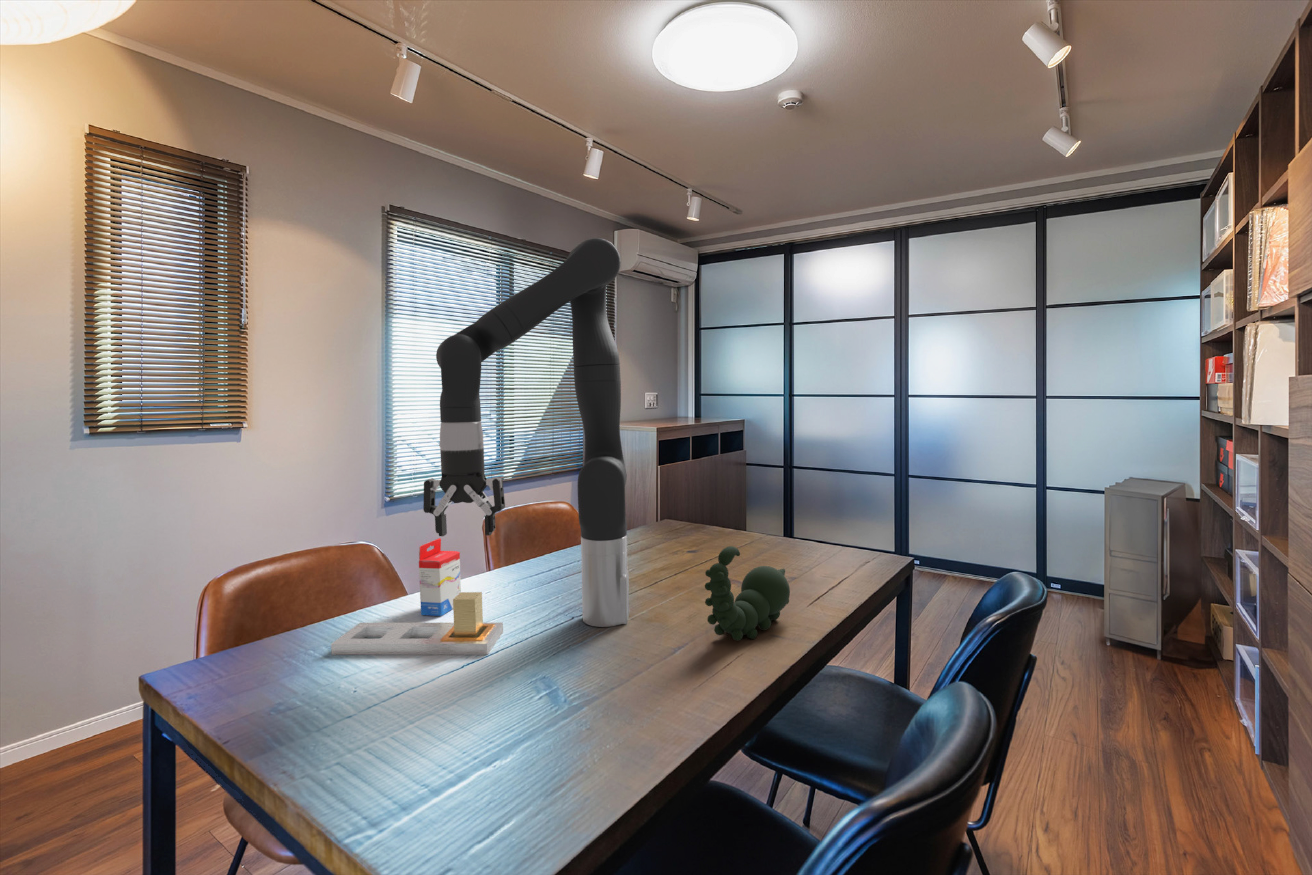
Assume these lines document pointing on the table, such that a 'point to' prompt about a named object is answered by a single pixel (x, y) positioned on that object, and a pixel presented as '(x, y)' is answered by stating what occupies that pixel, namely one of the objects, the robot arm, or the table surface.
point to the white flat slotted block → (414, 640)
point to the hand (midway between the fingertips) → (465, 535)
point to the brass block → (468, 615)
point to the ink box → (438, 578)
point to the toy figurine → (745, 597)
